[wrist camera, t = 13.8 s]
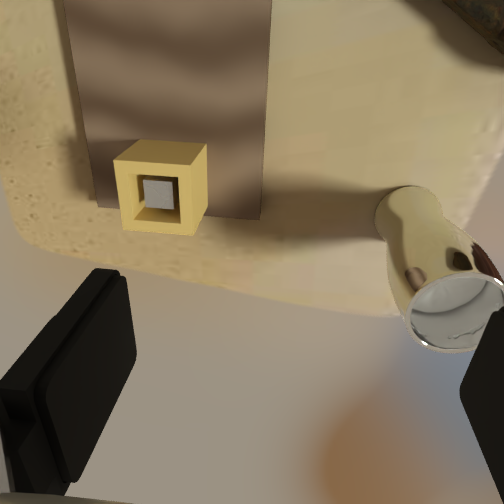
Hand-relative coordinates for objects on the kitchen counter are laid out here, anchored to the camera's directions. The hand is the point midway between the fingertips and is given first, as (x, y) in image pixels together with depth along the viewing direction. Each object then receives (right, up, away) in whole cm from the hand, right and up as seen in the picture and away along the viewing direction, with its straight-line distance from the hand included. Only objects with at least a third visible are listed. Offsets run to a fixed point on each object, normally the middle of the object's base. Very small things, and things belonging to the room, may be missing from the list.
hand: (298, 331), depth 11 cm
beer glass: (+14, +6, +28) cm, 32 cm away
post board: (-8, +14, +26) cm, 30 cm away
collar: (-8, +9, +27) cm, 30 cm away
